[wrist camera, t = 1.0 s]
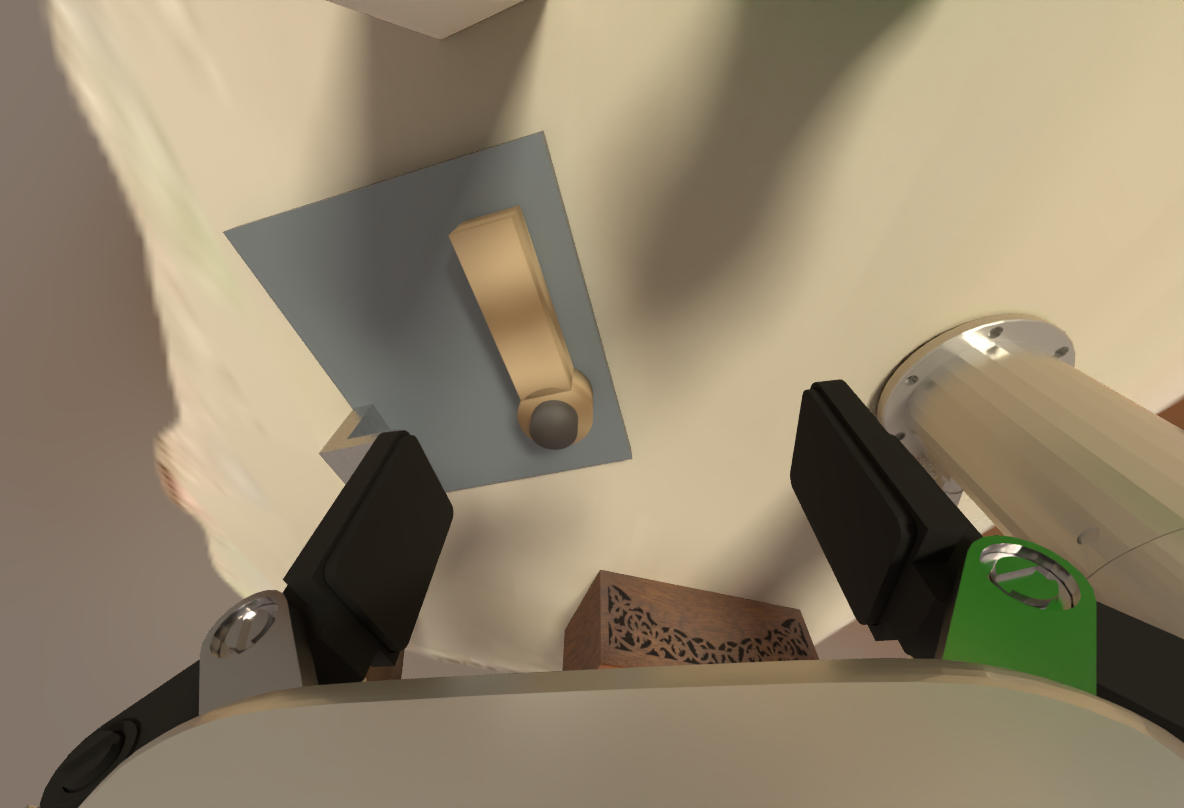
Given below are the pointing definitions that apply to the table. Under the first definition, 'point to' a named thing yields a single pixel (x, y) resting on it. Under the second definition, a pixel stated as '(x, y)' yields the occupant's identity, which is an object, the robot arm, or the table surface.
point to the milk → (430, 13)
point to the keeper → (353, 440)
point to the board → (435, 309)
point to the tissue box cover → (677, 627)
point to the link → (525, 327)
